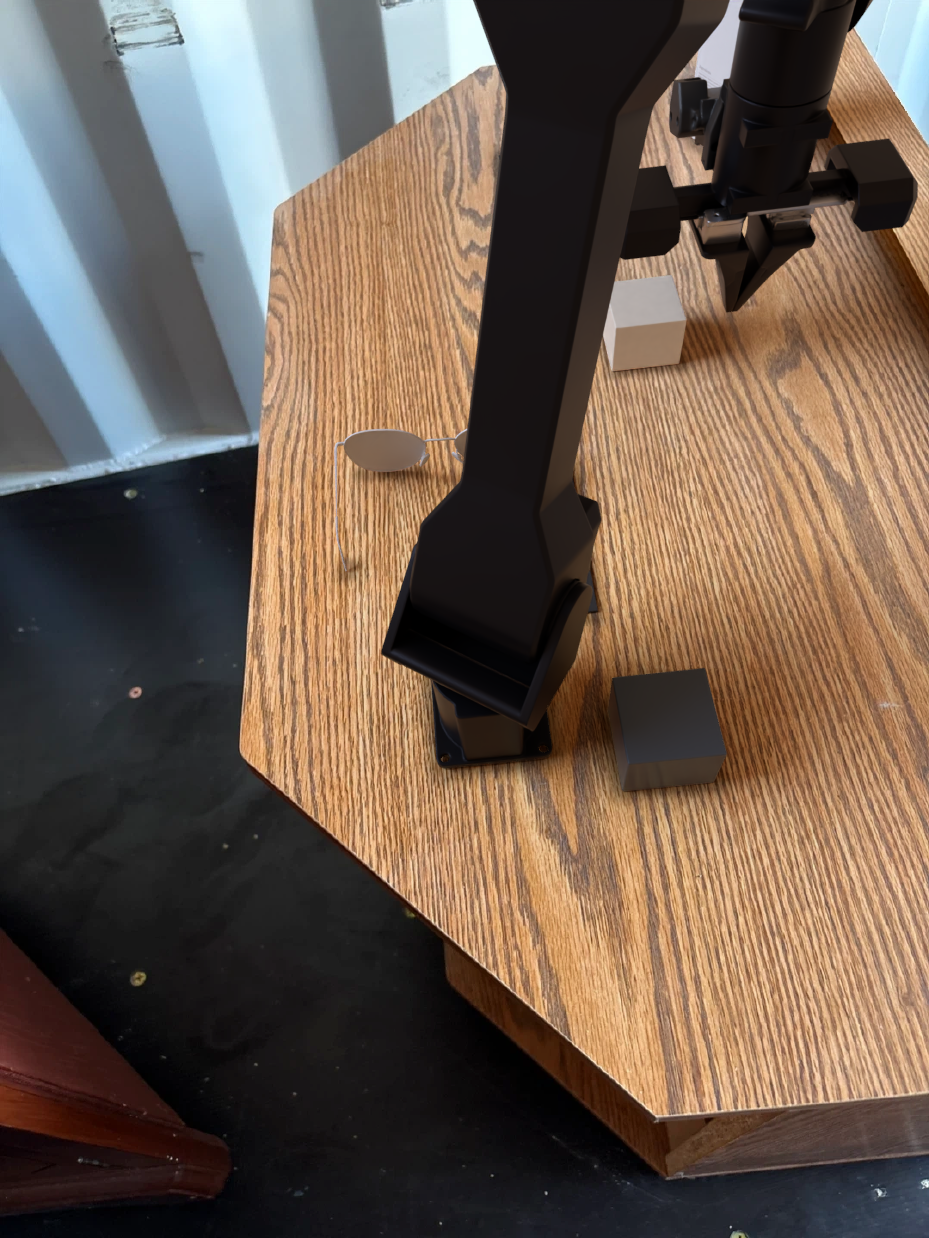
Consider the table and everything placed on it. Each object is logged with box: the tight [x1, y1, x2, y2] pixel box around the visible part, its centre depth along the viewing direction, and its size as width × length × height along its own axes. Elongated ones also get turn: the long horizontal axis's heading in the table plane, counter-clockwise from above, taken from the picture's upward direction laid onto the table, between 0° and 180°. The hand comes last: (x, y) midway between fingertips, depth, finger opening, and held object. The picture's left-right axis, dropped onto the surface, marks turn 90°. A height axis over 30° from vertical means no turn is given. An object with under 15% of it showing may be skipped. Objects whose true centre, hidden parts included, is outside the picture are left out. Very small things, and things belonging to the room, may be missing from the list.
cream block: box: [602, 274, 688, 372], centre depth 62 cm, size 5×5×4 cm
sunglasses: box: [333, 428, 467, 572], centre depth 55 cm, size 14×8×5 cm, turn 90°
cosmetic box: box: [691, 0, 743, 140], centre depth 71 cm, size 8×6×15 cm
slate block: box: [606, 667, 728, 792], centre depth 46 cm, size 5×5×4 cm
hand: (729, 308), depth 62 cm, fingers closed
